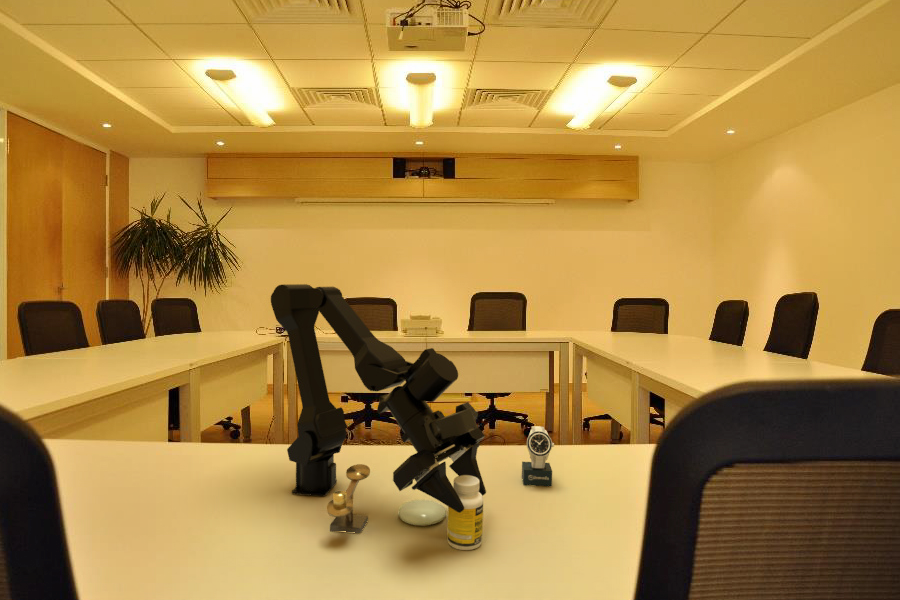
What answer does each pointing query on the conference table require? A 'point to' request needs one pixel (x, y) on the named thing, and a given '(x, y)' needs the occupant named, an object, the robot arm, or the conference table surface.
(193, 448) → the conference table surface
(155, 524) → the conference table surface
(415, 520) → the dish
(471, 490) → the supplement bottle
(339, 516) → the balance
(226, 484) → the conference table surface
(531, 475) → the watch
